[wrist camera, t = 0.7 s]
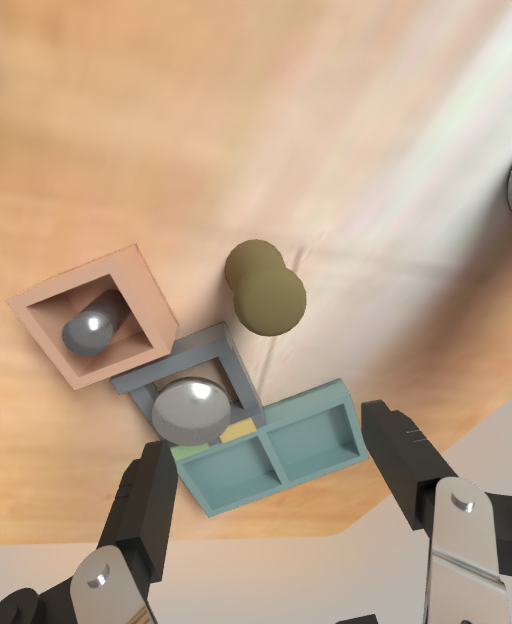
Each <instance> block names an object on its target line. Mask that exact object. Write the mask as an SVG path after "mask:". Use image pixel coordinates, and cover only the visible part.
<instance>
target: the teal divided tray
mask: <svg viewBox="0 0 512 624" xmlns="http://www.w3.org/2000/svg"><path fill="white" fill-rule="evenodd" d="M263 411H264V416H265V421H266V425H265V426H262V427H260V428H257V429H256V430H257V431H255V432H252V433H249V434H247V435H244V436H242V437H239V438H236V439H234V440H231V441H228V442H226V443H223V442H220V443H217V444H215V445H212V446H210V449H207V450H204V451H202V452H199V453H196V454H194V455H191V456H188V457H186V458H183V459H180V460H178V461H176V460H174V461H175V464H176V467H177V472H178V475H179V476H180V478H181V479H182V480H183V482H184V483H185V485H186V486H187V488H188V489H189V491H190V492H191V493H192V495H193V496H194V498H195V499H196V501H197V502H198V503H199V505H200V506H201V508H202V509H203V511H204V512H205V514H206V515H207V516H208V518H209V517H212V516H215V515H218V514H220V513H223V512H226V511H228V510H231V509H234V508H237V507H239V506H242V505H245V504H247V503H250V502H253V501H255V500H258V499H261V498H264V497H266V496H269V495H272V494H274V493H277V492H280V491H282V490H285V489H288V488H291V487H293V486H296V485H299V484H301V483H304V482H307V481H310V480H312V479H315V478H318V477H320V476H323V475H326V474H328V473H331V472H334V471H337V470H339V469H342V468H345V467H347V466H350V465H353V464H355V463H358V462H361V461H364V460H366V459H369V456H368V453H367V450H366V446H365V443H364V440H363V436H362V433H361V429H360V426H359V422H358V419H357V416H356V412H355V409H354V405H353V402H352V398H351V395H350V393H349V391H348V390H347V388H346V387H345V385H344V384H343V382H342V381H341V379H340V378H339V379H337V380H334V381H331V382H329V383H326V384H324V385H321V386H318V387H316V388H313V389H310V390H308V391H305V392H302V393H300V394H297V395H295V396H292V397H289V398H287V399H284V400H281V401H279V402H276V403H273V404H271V405H268V406H265V407H263Z"/></svg>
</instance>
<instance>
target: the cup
mask: <svg viewBox="0 0 512 624" xmlns="http://www.w3.org/2000/svg"><path fill="white" fill-rule="evenodd" d="M107 290H118V291H120V292H121V293H122V295H123V297H124V298H125V300H126V302H127V303H128V305H129V307H130V309H131V310H132V311H131V313H130V315H129V316H128V318H127V319H126V320H125V322H124V323H123V324H122V326H121V327H120V328H119V330H118V331H117V332H116V334H115V335H114V336H113V338H112V339H111V340H110V342H109V343H108V345H107V346H106V347H105V349H104V350H103V351H102V352H100V353H99V354H97V355H93V356H82V355H78V354H76V353H74V352H72V351H71V350H69V349H68V348H67V347H66V345H65V344H64V342H63V340H62V329H63V327H64V326H65V324H66V323H68V322H69V321H70V320H71V319H72V318H73V317H75V316H76V315H77V314H78V313H79V312H80V311H82V310H83V309H84V308H85V307H86V306H88V305H89V304H90V303H91V302H92V301H93V300H95V299H96V298H97V297H98V296H99V295H101V294H102V293H103V292H105V291H107ZM5 301H6V303H7V304H8V305H9V307H10V308H11V309H12V311H13V312H14V313H15V314H16V316H17V317H18V318H19V320H20V321H21V322H22V323H23V325H24V326H25V327H26V329H27V330H28V331H29V332H30V334H31V335H32V336H33V338H34V339H35V340H36V342H37V343H38V344H39V345H40V347H41V348H42V349H43V351H44V352H45V353H46V354H47V356H48V357H49V358H50V360H51V361H52V362H53V363H54V365H55V366H56V367H57V369H58V370H59V371H60V373H61V374H62V375H63V376H64V378H65V379H66V380H67V382H68V383H69V384H70V385H71V387H72V388H73V389H74V391H75V390H77V389H80V388H82V387H85V386H88V385H90V384H93V383H95V382H98V381H101V380H103V379H106V378H108V377H111V376H113V375H116V374H119V373H121V372H124V371H126V370H129V369H131V368H134V367H137V366H139V365H142V364H144V363H147V362H150V361H152V360H155V359H157V358H160V357H162V356H165V355H168V354H170V353H171V349H172V346H173V343H174V340H175V336H176V333H177V330H178V326H179V324H178V322H177V320H176V318H175V316H174V315H173V313H172V311H171V309H170V307H169V305H168V303H167V301H166V300H165V298H164V296H163V294H162V292H161V290H160V288H159V286H158V284H157V283H156V281H155V279H154V277H153V275H152V273H151V271H150V269H149V267H148V266H147V264H146V262H145V260H144V258H143V256H142V254H141V252H140V250H139V249H138V247H137V245H136V244H134V245H131V246H129V247H126V248H124V249H121V250H119V251H116V252H114V253H111V254H109V255H106V256H104V257H101V258H99V259H96V260H94V261H91V262H89V263H86V264H84V265H81V266H79V267H76V268H74V269H71V270H69V271H66V272H64V273H61V274H59V275H56V276H54V277H51V278H49V279H47V280H45V281H43V282H41V283H39V284H37V285H34V286H32V287H30V288H28V289H26V290H24V291H22V292H20V293H18V294H16V295H14V296H12V297H10V298H8V299H6V300H5Z"/></svg>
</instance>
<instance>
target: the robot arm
mask: <svg viewBox="0 0 512 624" xmlns="http://www.w3.org/2000/svg"><path fill="white" fill-rule="evenodd" d="M508 201H509V204H510V207H511V210H512V171H511V174H510V178H509V182H508ZM361 425H362V436H363V440H364V443H365V445H366V447H367V449H368V451H369V453H370V455H371V456H372V458H373V460H374V462H375V463H376V465H377V467H378V469H379V471H380V472H381V474H382V476H383V478H384V480H385V481H386V483H387V485H388V487H389V489H390V490H391V492H392V494H393V496H394V498H395V499H396V501H397V503H398V505H399V507H400V508H401V510H402V512H403V514H404V516H405V517H406V519H407V521H408V523H409V525H410V526H411V528H412V530H413V531H414V530H419V529H424V530H425V532H426V533H427V535H428V537H429V538H430V539H429V551H428V564H427V577H426V591H425V604H424V615H423V624H510V615H509V606H508V597H507V591H506V588H505V585H504V583H503V582H501V581H500V576H499V574H502V575H508V576H512V496H506V495H497V494H491V493H487V492H483V491H482V490H481V489H480V488H479V487H478V486H476V485H475V484H473V483H472V482H470V481H467V480H465V479H462V478H459V477H458V475H457V474H456V473H455V472H454V471H453V470H452V468H451V467H450V466H449V465H448V464H447V462H446V461H445V460H444V459H443V458H442V457H441V455H440V454H439V453H438V451H437V450H436V449H435V448H434V447H433V445H432V444H431V443H430V442H429V440H427V439H426V437H425V436H424V434H423V433H422V432H421V431H419V428H418V427H417V426H416V425H415V423H414V422H413V421H412V420H411V419H410V418H409V417H407V416H406V415H404V414H403V413H401V412H400V411H398V410H396V411H390V410H389V408H388V407H387V406H386V405H385V403H384V402H383V401H382V400H375V401H370V402H364V403H362V405H361ZM177 482H178V472H177V467H176V464H175V461H174V458H173V455H172V452H171V449H170V447H169V444H168V442H167V440H161V441H156V442H150V443H147V444H146V445H145V447H144V450H143V453H142V456H141V459H136V460H133V461H132V463H131V464H130V465H129V467H128V468H127V469H126V471H125V472H124V474H123V477H122V480H121V482H120V485H119V489H118V491H117V493H116V496H115V501H114V502H113V504H112V507H111V510H110V513H109V516H108V518H107V521H106V524H105V527H104V529H103V532H102V535H101V538H100V541H99V543H98V546H97V548H96V550H95V551H94V552H92V553H91V554H90V555H89V556H87V557H86V558H85V559H84V561H83V562H82V563H81V564H80V566H79V567H78V569H77V570H76V572H75V574H74V575H73V576H72V577H70V578H69V579H67V580H65V581H63V582H62V583H60V584H58V585H56V586H54V587H52V588H51V589H49V590H47V591H45V592H43V593H41V594H40V595H38V594H37V593H36V591H34V590H33V589H31V588H24V589H20V590H17V591H15V592H13V593H12V594H10V595H8V596H7V597H6V598H4V599H3V600H2V601H1V602H0V624H158V622H157V620H156V618H155V616H154V613H153V611H152V609H151V607H150V605H149V603H148V601H147V597H148V592H149V586H150V583H155V582H160V581H162V575H163V568H164V562H165V556H166V550H167V544H168V538H169V532H170V526H171V520H172V513H173V507H174V501H175V495H176V489H177ZM336 624H378V622H377V619H376V616H375V614H372V615H367V616H363V617H358V618H353V619H349V620H344V621H339V622H337V623H336Z"/></svg>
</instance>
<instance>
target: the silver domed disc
mask: <svg viewBox="0 0 512 624" xmlns="http://www.w3.org/2000/svg"><path fill="white" fill-rule="evenodd" d="M230 419H231V408H230V400H229V397H228V395H227V393H226V392H225V390H224V389H223V388H222V387H221V386H220V385H218V384H217V383H215V382H213V381H211V380H209V379H205V378H201V377H185V378H181V379H177V380H175V381H173V382H171V383H169V384H168V385H166V386H165V387H164V388H163V389H162V390H161V391H160V392H159V394H158V396H157V398H156V400H155V404H154V407H153V410H152V421H153V425H154V427H155V429H156V430H157V432H158V433H159V434H160V435H161V436H162V437H163V438H165V439H166V440H168V441H170V442H172V443H174V444H178V445H182V446H199V445H203V444H206V443H209V442H211V441H213V440H215V439H217V438H218V437H219V436H221V435H222V434H223V433H224V431H225V430H226V429H227V427H228V425H229V423H230Z"/></svg>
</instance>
